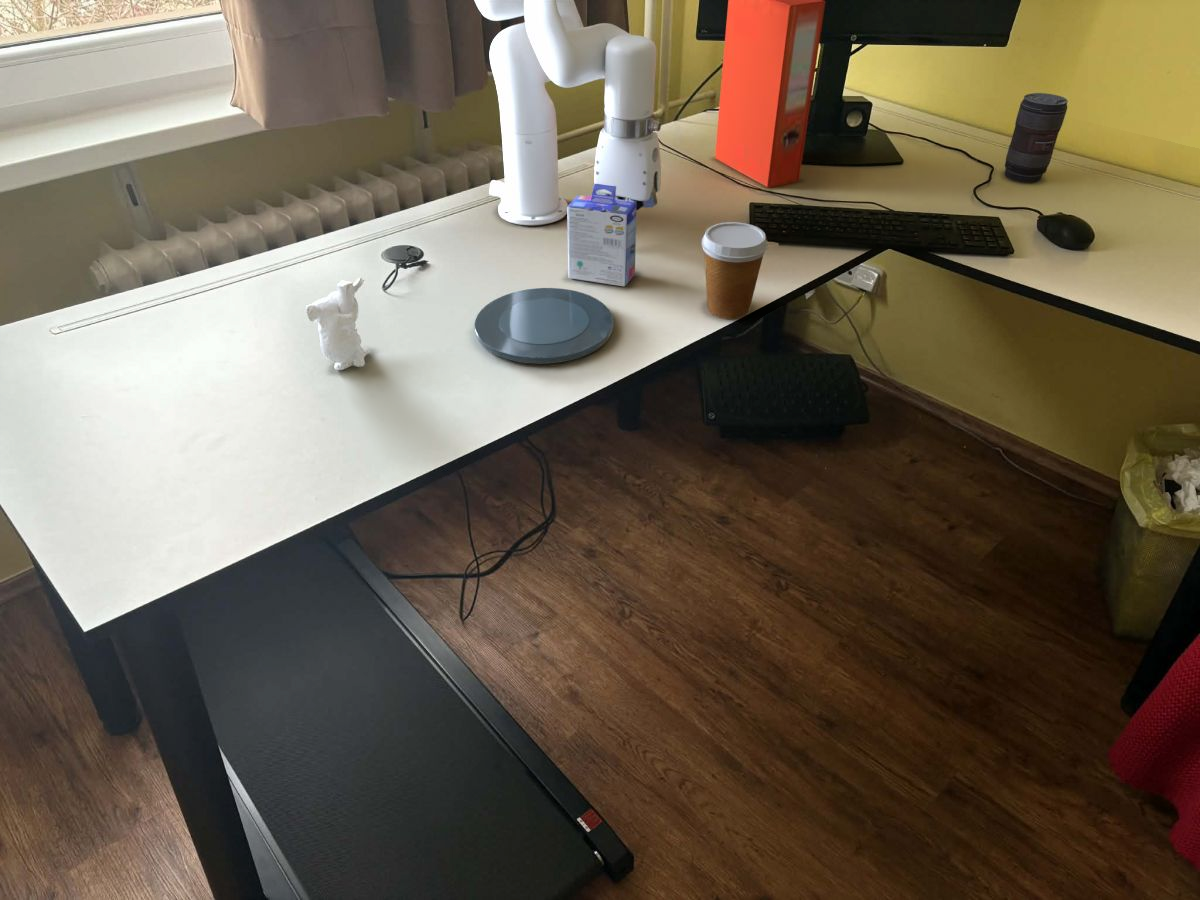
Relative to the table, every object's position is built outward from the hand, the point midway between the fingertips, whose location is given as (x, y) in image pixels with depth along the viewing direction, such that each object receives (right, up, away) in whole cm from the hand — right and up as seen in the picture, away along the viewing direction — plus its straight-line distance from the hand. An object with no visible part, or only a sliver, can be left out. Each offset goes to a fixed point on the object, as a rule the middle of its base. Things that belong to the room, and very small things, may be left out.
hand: (624, 233), depth 150 cm
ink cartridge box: (-4, -8, -6) cm, 11 cm away
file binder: (+27, +20, +29) cm, 44 cm away
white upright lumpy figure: (-39, -24, -26) cm, 52 cm away
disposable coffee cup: (+15, -15, -14) cm, 26 cm away
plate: (-12, -19, -19) cm, 29 cm away
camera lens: (+79, +17, +26) cm, 84 cm away
